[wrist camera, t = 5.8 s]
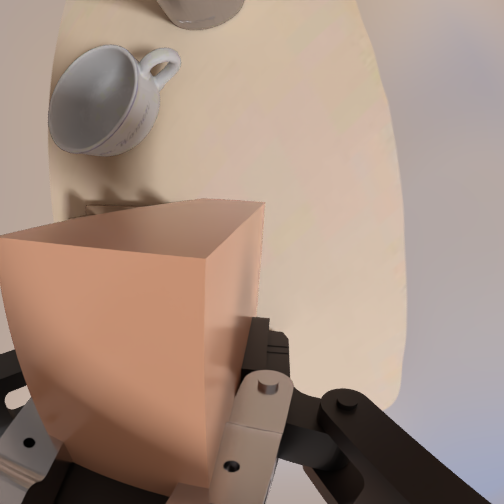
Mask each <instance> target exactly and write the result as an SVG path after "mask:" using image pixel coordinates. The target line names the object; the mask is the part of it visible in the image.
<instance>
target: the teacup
mask: <svg viewBox="0 0 504 504" xmlns="http://www.w3.org/2000/svg"><path fill="white" fill-rule="evenodd" d="M162 62H169V63H168V64H167V65H166V66H165V68H164V69H163V70H162V71H161V72H159V73H158V74H157V75H156V76H152V74H151V73H150V70H151V68H152V67H154V66H155V65H157V64H159V63H162ZM180 66H181V58H180V56H179V54H178V52H177V51H175V50H174V49H171V48H159V49H156V50H153V51H151V52H150V53H148V54H147V55H145V56H144V58H143V59H142V60H141V61H140V62H139V61H137V60H136V59H135V58H134V57H133V56H132V54H131V53H130V52H129V51H128V50H126V49H125V48H123V47H121V46H117V45H103V46H99V47H96V48H94V49H91V50H89V51H87V52H86V53H84V54H83V55H81V56H80V57H78V58H77V59H76V60H75V61H74V62H73V63H72V64H71V65H70V66H69V67H68V68H67V70H66V71H65V72H64V73H63V75H62V76H61V78H60V80H59V81H58V83H57V85H56V87H55V89H54V92H53V94H52V97H51V101H50V105H49V112H48V127H49V130H50V134H51V137H52V139H53V140H54V142H55V144H56V145H57V146H58V147H60V148H61V149H62V150H64V151H67V152H69V153H74V154H80V153H82V154H87V155H94V156H114V155H118V154H121V153H124V152H126V151H128V150H130V149H132V148H133V147H135V146H136V145H137V144H139V143H140V142H141V141H142V140H143V139H144V138H145V136H146V135H147V134H148V133H149V131H150V130H151V128H152V127H153V125H154V122H155V120H156V118H157V115H158V111H159V107H160V93H159V92H160V90H161V89H162V88H163V87H164V85H165V83H167V82H168V81H169V80H170V79H171V78H172V77H173V76H174V75H175V74H176V73H177V72H178V70H179V68H180Z"/></svg>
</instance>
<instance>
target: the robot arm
mask: <svg viewBox="0 0 504 504" xmlns="http://www.w3.org/2000/svg"><path fill="white" fill-rule="evenodd" d="M156 1H157V2H158V4H159V5H160V7H161V8H162V9H163V11H164V12H165V13H166V15H167V16H168V18H169V19H170V20H171V21H172V23H174V24H175V25H176V26H178V27H181V28H183V29H189V30H202V29H208V28H212V27H215V26H218V25H220V24H222V23H225V22H226V21H228V20H229V19H231V18H232V17H233V16H235V15H236V14H237V13H238V12H239V10H240V9H241V8H242V5H243V3H244V0H156ZM269 321H270V318H260V317H252V321H251V326H250V331H249V335H248V340H247V345H246V349H245V354H244V359H243V363H242V368H241V382H240V388H239V390H238V392H237V394H236V396H235V398H234V402H233V406H232V411H231V415H230V419H229V422H227V421H226V423H225V426H224V430H223V434H222V438H221V442H220V446H219V450H218V454H217V458H216V462H215V466H214V470H213V474H212V478H211V482H210V486H209V488H204V487H198V486H193V485H188V484H184V483H179V482H178V484H177V486H176V487H175V489H174V491H173V492H172V494H171V496H170V497H169V496H165V495H161V494H157V493H154V492H150V491H147V490H144V489H140V488H137V487H134V486H131V485H128V484H125V483H122V482H120V481H117V480H114V479H111V478H109V477H106V476H104V475H101V474H99V473H96V472H94V471H92V470H89V469H87V468H85V467H83V466H80V465H78V464H76V463H74V462H72V460H73V459H72V458H71V456H70V454H69V452H68V450H67V448H66V446H65V444H64V442H63V441H60V440H58V439H56V438H55V437H53V436H51V435H49V434H48V433H47V431H46V429H45V427H44V425H43V422H42V420H41V418H40V416H39V414H38V411H37V409H36V407H35V404H34V402H33V399H32V397H31V398H30V399H29V400H28V402H27V403H26V404H25V405H24V406H21V407H19V408H16V409H13V410H11V409H8V408H7V407H6V405H5V396H6V395H7V394H8V393H9V392H11V391H13V390H16V389H19V388H21V387H24V386H26V385H27V384H26V381H25V379H24V376H23V373H22V370H21V367H20V364H19V361H18V358H17V354H16V351H15V350H12V351H9V352H6V353H3V354H0V504H266V502H267V499H268V495H269V492H270V488H271V485H272V481H273V477H274V474H275V470H276V466H277V463H278V459H279V458H280V459H283V460H286V461H290V462H293V463H297V464H300V465H303V469H304V471H305V473H306V474H307V475H308V477H309V478H310V480H311V481H312V482H313V484H314V485H315V487H316V488H317V490H318V491H319V493H320V494H321V495H322V497H323V498H324V500H325V501H326V502H327V504H491V503H490V502H489V501H487V500H486V499H485V498H484V497H482V496H481V495H480V494H479V493H477V492H476V491H475V490H474V489H473V488H471V487H470V486H469V485H467V484H466V483H465V482H464V481H463V480H462V479H460V478H459V477H458V476H457V475H456V474H454V473H453V472H452V471H451V470H450V469H448V468H447V467H446V466H445V465H444V464H442V463H441V462H440V461H439V460H438V459H436V458H435V457H434V456H433V455H432V454H431V453H430V452H428V451H427V450H426V449H425V448H424V447H423V446H421V445H420V444H419V443H418V442H417V441H415V439H413V438H412V437H411V436H410V435H409V434H407V432H405V431H404V430H403V429H402V428H401V427H400V426H399V425H397V424H396V423H395V422H394V421H393V420H392V419H390V417H388V416H387V415H386V414H385V413H384V412H383V411H382V410H381V409H379V408H378V407H377V406H376V405H375V404H374V403H373V402H372V401H371V400H369V399H368V398H367V397H366V396H365V395H363V394H362V393H360V392H358V391H355V390H351V389H334V390H331V391H328V392H327V393H325V394H324V395H323V397H322V398H321V399H320V398H316V397H312V396H308V395H306V394H303V393H301V392H300V391H298V390H297V389H296V388H295V387H294V385H293V382H292V380H291V379H290V364H289V341H288V338H287V337H286V336H285V334H284V333H283V332H276V331H269Z"/></svg>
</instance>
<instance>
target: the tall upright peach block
mask: <svg viewBox="0 0 504 504" xmlns="http://www.w3.org/2000/svg"><path fill="white" fill-rule="evenodd" d="M264 213H265V202H254V201H240V200H224V199H206V198H202V199H195V200H187V201H180V202H172V203H165V204H159V205H152V206H145V207H139V208H133V209H127V210H121V211H115V212H109V213H104V214H98V215H93V216H87V217H82V218H77V219H72V220H67V221H62V222H57V223H53V224H48V225H43V226H39V227H34V228H30V229H26V230H21V231H17V232H13V233H9V234H4V235H0V286H1V292H2V297H3V302H4V307H5V312H6V316H7V321H8V325H9V329H10V333H11V337H12V340H13V344H14V348H15V351H16V354H17V358H18V361H19V364H20V367H21V370H22V373H23V376H24V379H25V381H26V384H27V387H28V389H29V392H30V394H31V397H32V399H33V402H34V404H35V407H36V409H37V411H38V414H39V416H40V418H41V420H42V422H43V425H44V427H45V429H46V431H47V433H48V434H49V435H51V436H53V437H55V438H56V439H58V440H60V441H63V442H64V444H65V446H66V448H67V450H68V452H69V454H70V456H71V458H72V459H73V460H72V462H74V463H76V464H78V465H80V466H83V467H85V468H87V469H89V470H92V471H94V472H96V473H99V474H101V475H104V476H106V477H109V478H111V479H114V480H117V481H120V482H122V483H125V484H128V485H131V486H134V487H137V488H140V489H144V490H147V491H150V492H154V493H157V494H161V495H165V496H169V497H170V496H171V494H172V492H173V491H174V489H175V487H176V486H177V484H178V482H179V483H184V484H188V485H193V486H198V487H204V488H209V486H210V482H211V478H212V474H213V470H214V466H215V462H216V458H217V454H218V450H219V446H220V442H221V438H222V434H223V430H224V426H225V423H226V421H227V422H229V419H230V415H231V411H232V406H233V402H234V398H235V396H236V394H237V392H238V390H239V388H240V382H241V368H242V363H243V359H244V354H245V349H246V345H247V340H248V335H249V331H250V326H251V321H252V317H256V315H257V303H258V291H259V278H260V265H261V252H262V239H263V226H264Z"/></svg>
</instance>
